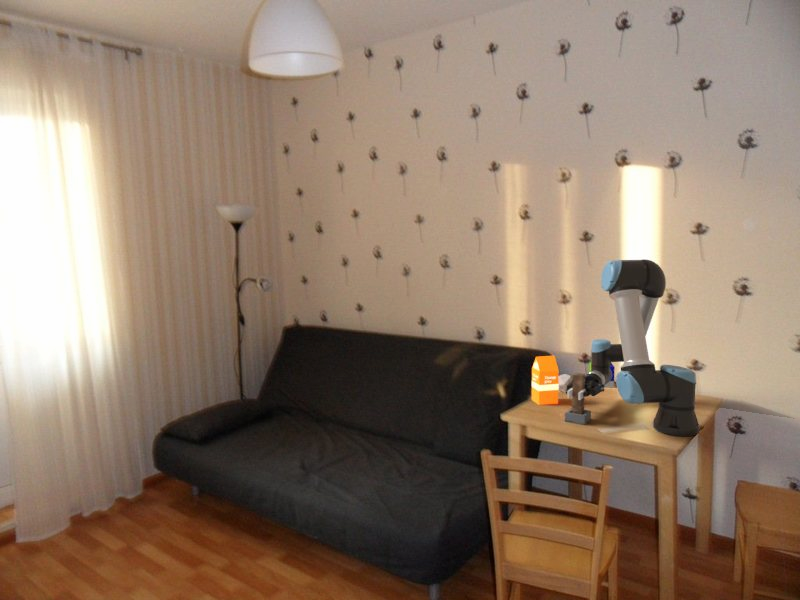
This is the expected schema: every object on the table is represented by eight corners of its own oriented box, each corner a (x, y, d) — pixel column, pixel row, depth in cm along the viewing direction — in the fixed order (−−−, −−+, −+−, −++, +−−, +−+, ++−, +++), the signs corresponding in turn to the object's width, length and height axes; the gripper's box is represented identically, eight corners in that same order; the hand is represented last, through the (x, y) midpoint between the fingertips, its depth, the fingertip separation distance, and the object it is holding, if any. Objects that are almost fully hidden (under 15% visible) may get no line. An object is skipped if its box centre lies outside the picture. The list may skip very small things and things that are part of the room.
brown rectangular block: (584, 414, 217) (584, 374, 215) (581, 416, 214) (581, 376, 212) (575, 412, 219) (575, 372, 217) (572, 415, 216) (572, 374, 214)
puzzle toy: (614, 388, 261) (614, 367, 260) (591, 387, 263) (591, 366, 262) (610, 382, 271) (610, 362, 270) (588, 381, 273) (589, 361, 272)
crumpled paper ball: (553, 394, 254) (565, 380, 249) (549, 381, 261) (561, 367, 256) (569, 399, 256) (580, 385, 251) (565, 386, 263) (576, 372, 258)
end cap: (590, 419, 217) (591, 410, 217) (584, 424, 211) (584, 415, 211) (571, 416, 222) (571, 407, 221) (565, 421, 216) (565, 412, 215)
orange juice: (531, 399, 245) (531, 354, 242) (550, 398, 246) (550, 353, 244) (539, 405, 237) (539, 358, 235) (558, 403, 239) (559, 357, 236)
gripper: (613, 393, 225) (595, 409, 207) (572, 387, 235) (552, 401, 216) (614, 375, 224) (596, 389, 206) (573, 370, 234) (552, 382, 215)
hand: (573, 395), depth 211 cm, fingers closed on brown rectangular block, 3 cm apart
